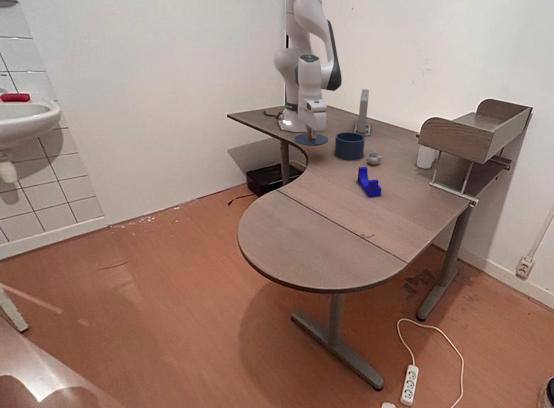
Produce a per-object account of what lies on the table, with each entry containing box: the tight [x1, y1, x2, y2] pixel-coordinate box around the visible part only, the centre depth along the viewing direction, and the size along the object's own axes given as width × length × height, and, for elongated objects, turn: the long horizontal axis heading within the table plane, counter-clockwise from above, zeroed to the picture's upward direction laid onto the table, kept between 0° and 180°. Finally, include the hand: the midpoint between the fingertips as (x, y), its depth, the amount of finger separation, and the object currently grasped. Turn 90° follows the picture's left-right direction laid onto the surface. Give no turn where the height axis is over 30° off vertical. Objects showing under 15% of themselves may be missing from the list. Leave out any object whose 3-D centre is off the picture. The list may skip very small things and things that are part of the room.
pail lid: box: [293, 128, 329, 147], centre depth 123 cm, size 14×14×5 cm
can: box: [416, 144, 435, 170], centre depth 128 cm, size 6×6×12 cm
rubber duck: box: [366, 146, 383, 166], centre depth 127 cm, size 5×7×8 cm
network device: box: [353, 88, 371, 137], centre depth 163 cm, size 26×9×20 cm, turn 178°
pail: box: [334, 131, 366, 161], centre depth 133 cm, size 13×13×8 cm
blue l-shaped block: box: [357, 166, 382, 198], centre depth 108 cm, size 12×4×6 cm, turn 21°
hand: (311, 136), depth 123 cm, fingers closed on pail lid, 3 cm apart
